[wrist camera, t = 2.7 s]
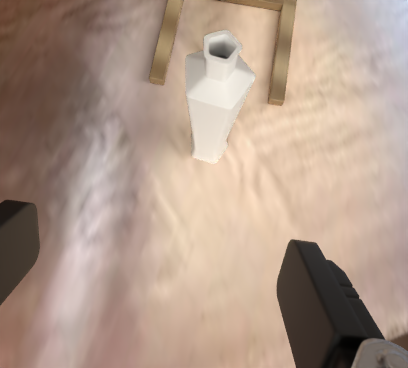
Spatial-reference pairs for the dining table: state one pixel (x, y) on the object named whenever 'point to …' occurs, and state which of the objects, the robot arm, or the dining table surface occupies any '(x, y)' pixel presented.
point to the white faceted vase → (215, 93)
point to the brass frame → (284, 3)
